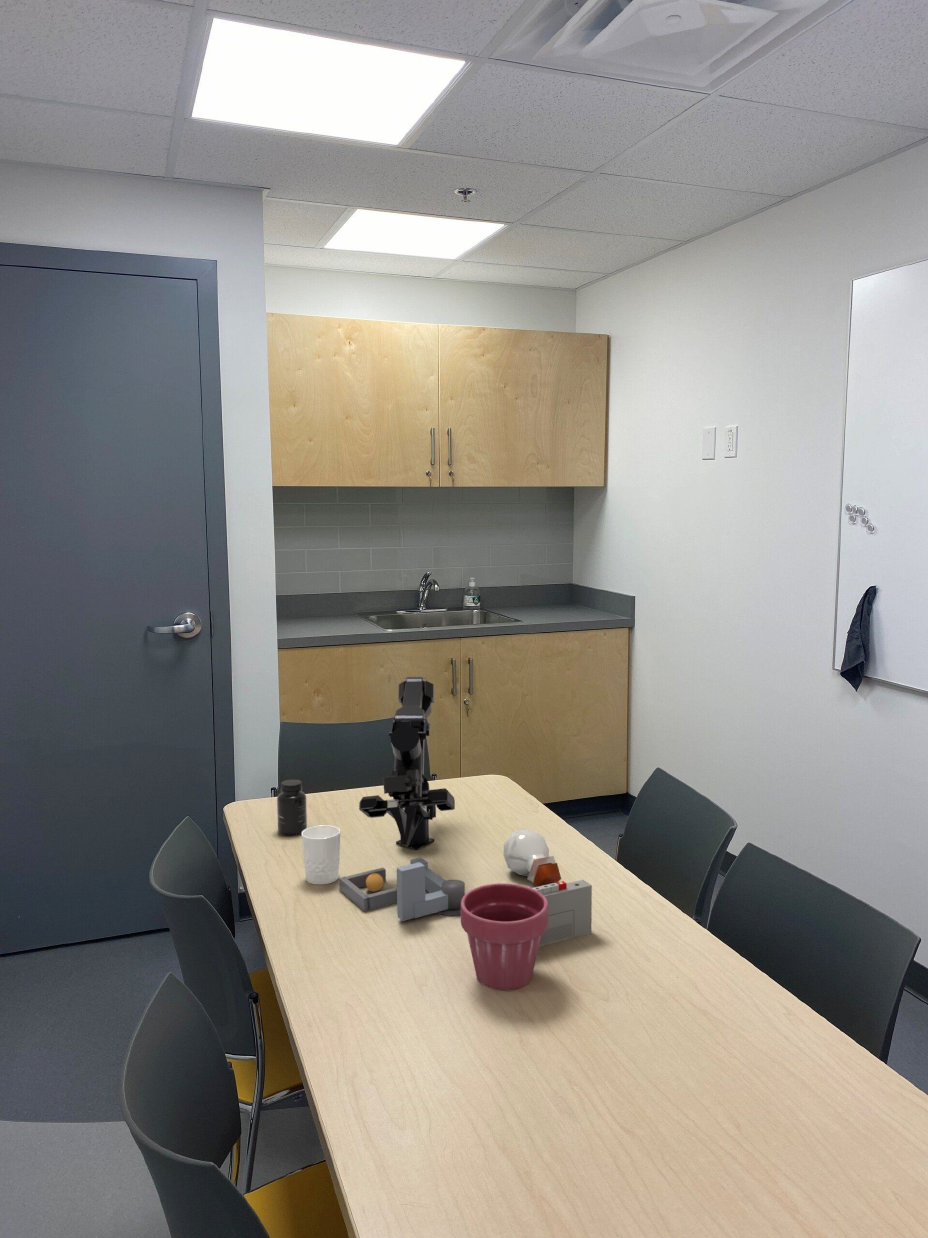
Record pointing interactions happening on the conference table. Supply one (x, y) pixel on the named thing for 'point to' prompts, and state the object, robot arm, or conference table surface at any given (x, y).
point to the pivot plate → (451, 912)
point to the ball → (374, 882)
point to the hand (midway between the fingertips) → (405, 845)
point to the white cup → (321, 854)
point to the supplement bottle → (291, 808)
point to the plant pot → (504, 932)
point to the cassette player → (567, 910)
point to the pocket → (365, 902)
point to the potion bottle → (531, 857)
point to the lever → (413, 891)
